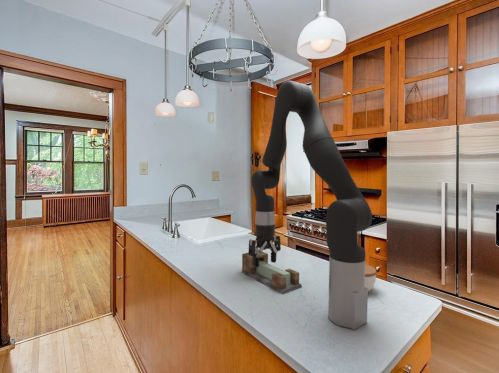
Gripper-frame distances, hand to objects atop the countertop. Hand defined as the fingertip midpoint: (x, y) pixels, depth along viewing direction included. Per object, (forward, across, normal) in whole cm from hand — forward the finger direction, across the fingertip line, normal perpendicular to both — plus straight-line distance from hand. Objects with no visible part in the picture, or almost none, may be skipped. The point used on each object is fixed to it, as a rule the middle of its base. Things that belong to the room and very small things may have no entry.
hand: (265, 264), depth 102 cm
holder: (+5, 0, -3) cm, 6 cm away
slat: (+4, 0, -2) cm, 4 cm away
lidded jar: (+6, +19, -28) cm, 34 cm away
